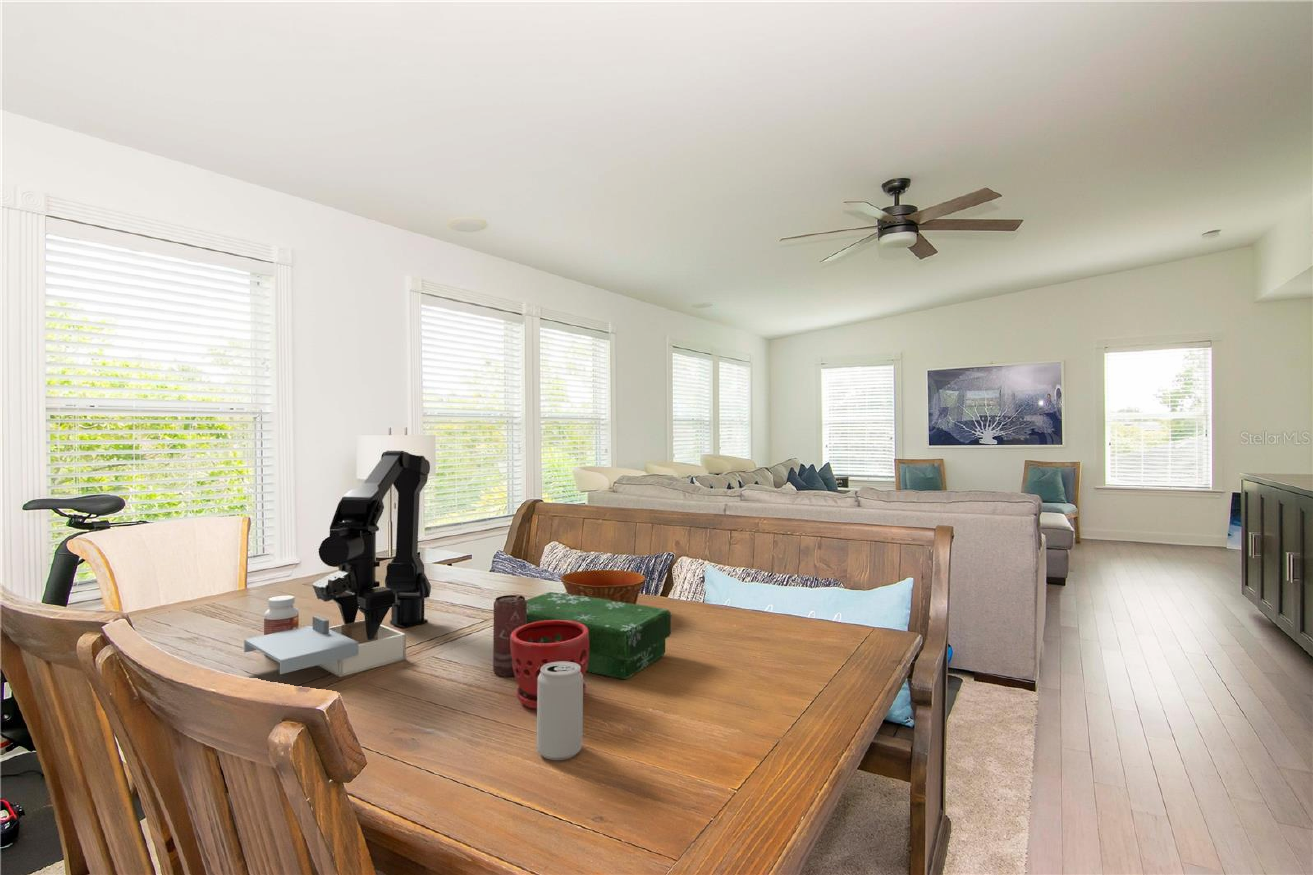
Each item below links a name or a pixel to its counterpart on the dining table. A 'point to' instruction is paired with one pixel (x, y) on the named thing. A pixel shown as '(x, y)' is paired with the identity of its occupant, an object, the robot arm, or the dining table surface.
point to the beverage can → (559, 710)
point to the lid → (304, 646)
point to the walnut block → (357, 632)
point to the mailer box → (370, 652)
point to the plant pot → (545, 652)
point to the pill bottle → (281, 615)
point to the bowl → (605, 584)
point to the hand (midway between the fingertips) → (359, 634)
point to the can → (506, 630)
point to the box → (608, 630)
